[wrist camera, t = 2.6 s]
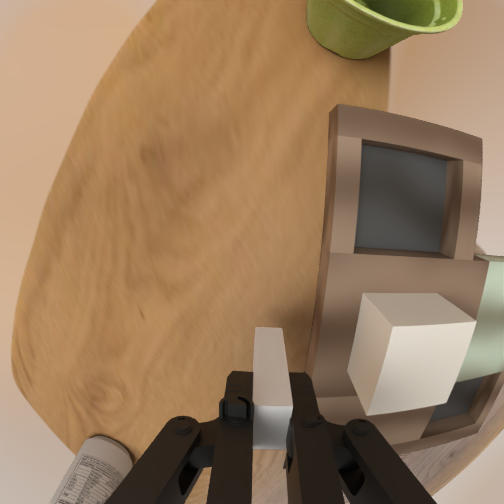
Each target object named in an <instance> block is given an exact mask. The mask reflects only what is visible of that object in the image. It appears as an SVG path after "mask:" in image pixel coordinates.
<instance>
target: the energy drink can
mask: <svg viewBox="0 0 504 504" xmlns="http://www.w3.org/2000/svg"><path fill="white" fill-rule="evenodd" d="M132 467H133V464H132V461H131V459H130V454H129V452H128V451H127V450H126V449H125V448H124V447H123V446H122V445H121V444H119V443H118V442H116V441H114V440H113V439H110V438H108V437H104V436H95V437H93V438H88V439H86V440H85V442H84V444H83V445H82V447H81V449H80V450H79V452H78V454H77V455H76V457H75V459H74V461H73V462H72V464H71V466H70V467H69V469H68V471H67V473H66V474H65V476H64V478H63V480H62V481H61V483H60V485H59V487H58V489H57V490H56V492H55V494H54V496H53V498H52V499H51V501H50V503H49V504H104V503H105V502H106V501H107V499H108V498H109V497H110V496H111V494H112V493H113V492H114V491H115V489H116V488H117V487H118V486H119V484H120V483H121V482H122V481H123V479H124V478H125V477H126V475H127V474H128V473H129V472H130V470H131V469H132Z"/></svg>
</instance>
